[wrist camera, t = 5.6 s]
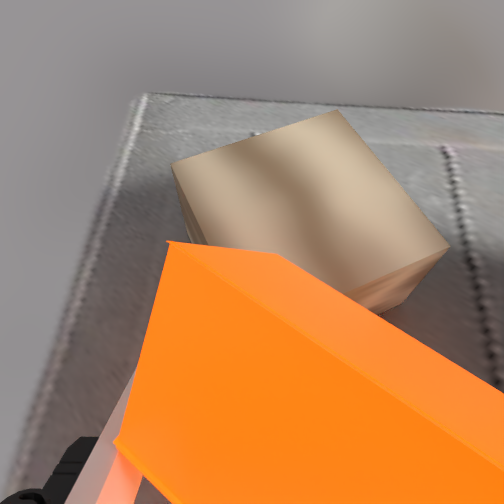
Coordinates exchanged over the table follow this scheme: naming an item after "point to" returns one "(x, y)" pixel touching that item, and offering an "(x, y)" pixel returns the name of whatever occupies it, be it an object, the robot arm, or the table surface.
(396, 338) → the orange juice
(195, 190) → the birch block
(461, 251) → the table surface
